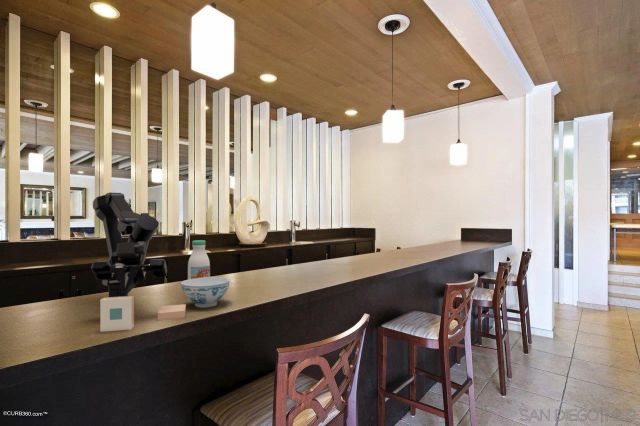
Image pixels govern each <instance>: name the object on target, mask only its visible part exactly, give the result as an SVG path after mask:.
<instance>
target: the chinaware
mask: <svg viewBox="0 0 640 426" xmlns="http://www.w3.org/2000/svg"><path fill="white" fill-rule="evenodd" d="M230 282H231V280H230V278H227V277H224V276H223V277H221V276H220V277H219V276H210V277H204V278H195V279H189V280H188V279H186V280H183V281H182V282H181V284H180V286H181V288H182V289H181V290H182V291H183V294H184V296H185V297H186V298H187V299H188V300H189V301H190V302H191V303H193V304H194V306H195V307H196V308H209V307H210V308H211V307H215V306H217V304H218V302H219V301H220V300H222V298H223V297H224V296H225V294H226V293H227V291H228V288H229V286H230Z"/></svg>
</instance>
